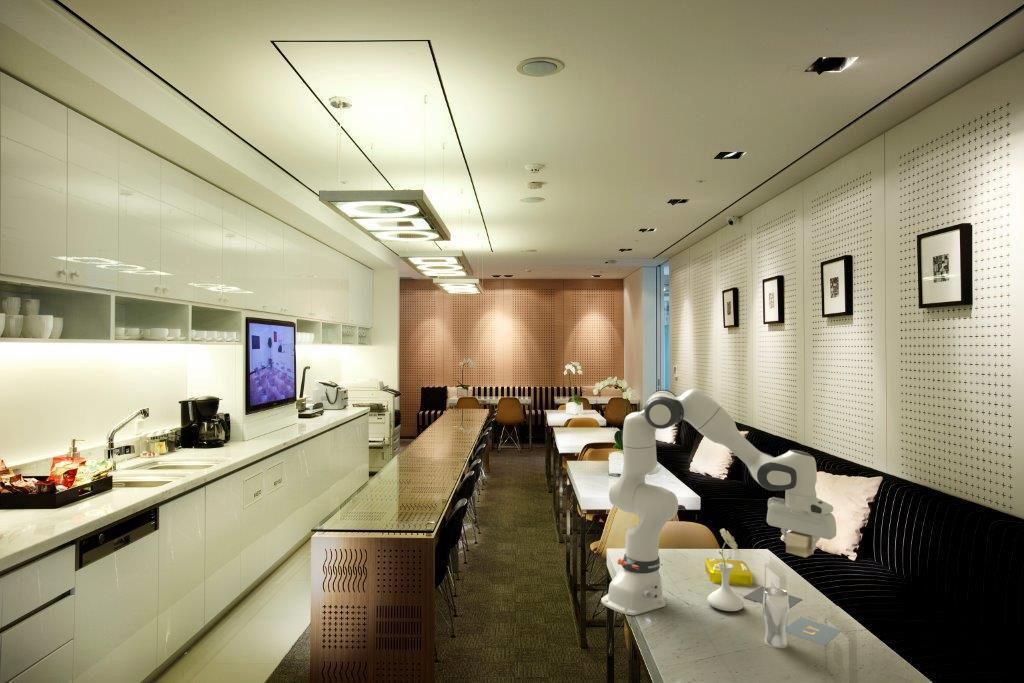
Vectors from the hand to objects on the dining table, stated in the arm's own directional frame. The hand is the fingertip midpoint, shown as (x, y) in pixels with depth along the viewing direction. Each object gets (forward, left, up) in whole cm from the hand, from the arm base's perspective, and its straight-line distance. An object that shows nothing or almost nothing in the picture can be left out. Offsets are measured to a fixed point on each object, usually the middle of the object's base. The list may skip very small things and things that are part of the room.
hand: (799, 546), depth 181 cm
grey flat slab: (-4, -5, -24) cm, 24 cm away
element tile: (+17, +33, -24) cm, 44 cm away
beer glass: (-20, -1, -24) cm, 31 cm away
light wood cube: (0, 0, -2) cm, 2 cm away
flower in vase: (-8, +21, -24) cm, 33 cm away
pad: (+10, +13, -24) cm, 29 cm away
